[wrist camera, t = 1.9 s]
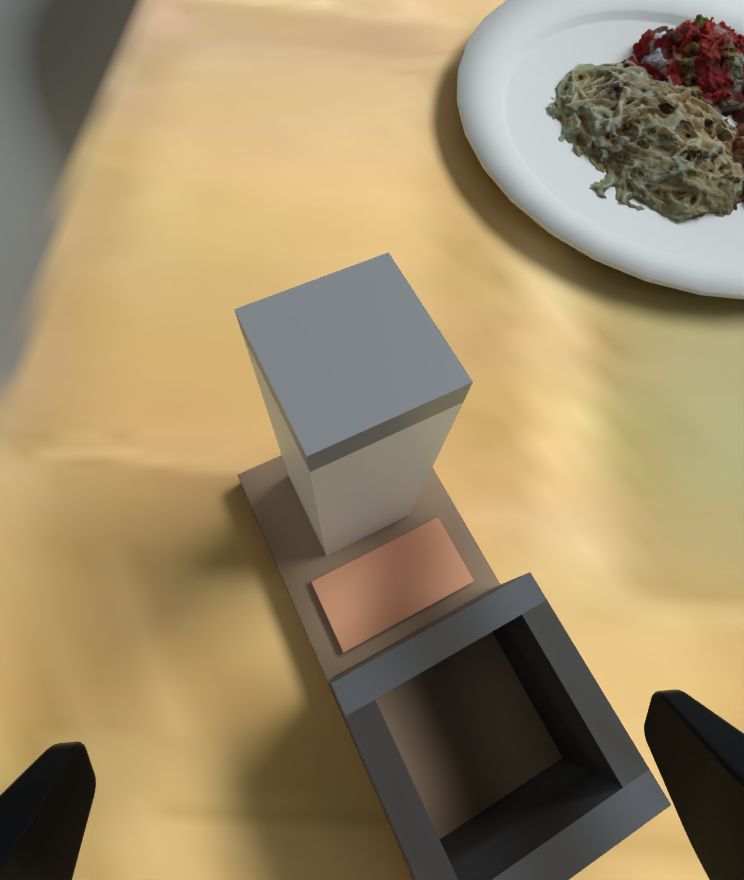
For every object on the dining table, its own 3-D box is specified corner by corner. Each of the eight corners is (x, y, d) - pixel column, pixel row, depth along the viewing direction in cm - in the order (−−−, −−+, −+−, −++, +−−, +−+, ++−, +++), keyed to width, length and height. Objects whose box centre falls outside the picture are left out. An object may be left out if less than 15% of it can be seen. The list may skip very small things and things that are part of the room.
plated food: (473, 313, 28) (488, 271, 25) (437, -8, 40) (445, -65, 36) (981, 321, 30) (1055, 282, 27) (806, 9, 41) (844, -43, 38)
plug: (326, 556, 22) (306, 456, 10) (288, 475, 23) (234, 309, 12) (409, 514, 22) (473, 382, 11) (368, 438, 24) (388, 252, 13)
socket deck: (420, 891, 18) (449, 984, 13) (241, 481, 24) (213, 435, 19) (598, 769, 20) (685, 810, 15) (394, 413, 25) (406, 354, 20)
